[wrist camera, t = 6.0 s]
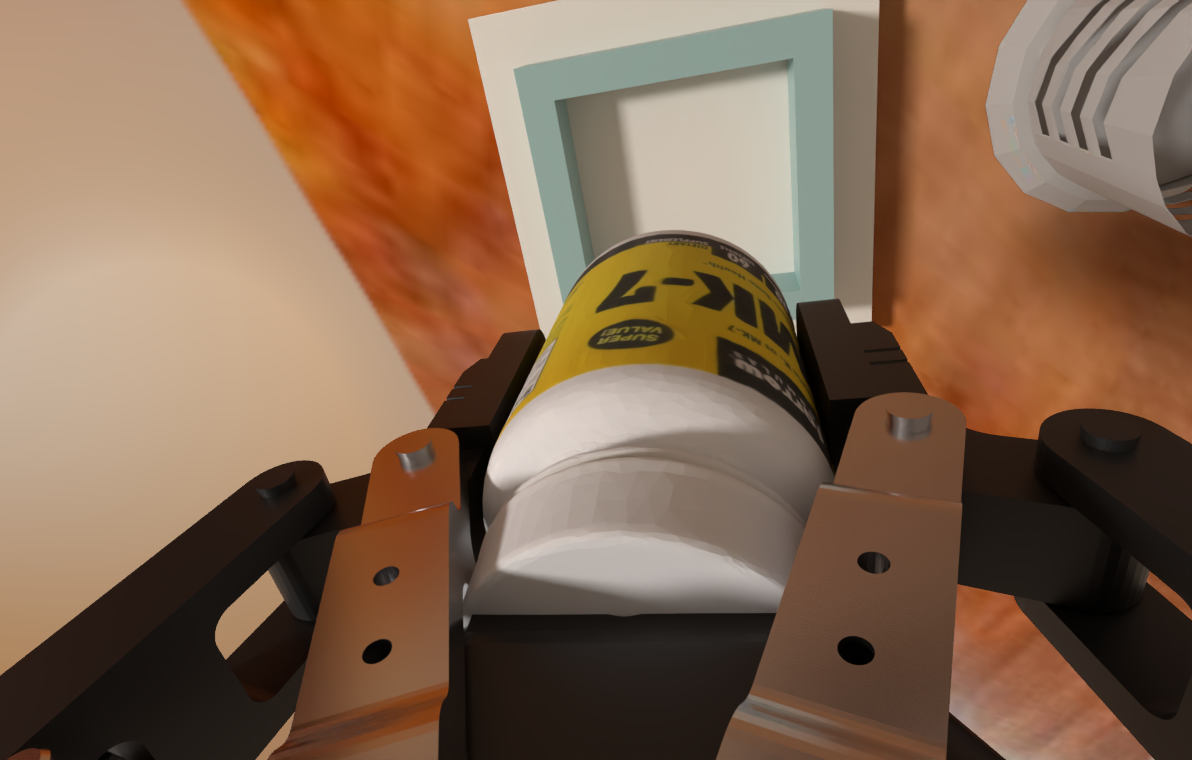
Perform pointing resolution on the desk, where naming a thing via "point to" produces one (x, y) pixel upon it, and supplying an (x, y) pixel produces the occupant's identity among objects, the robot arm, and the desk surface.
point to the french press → (1098, 105)
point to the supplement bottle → (655, 444)
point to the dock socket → (689, 134)
